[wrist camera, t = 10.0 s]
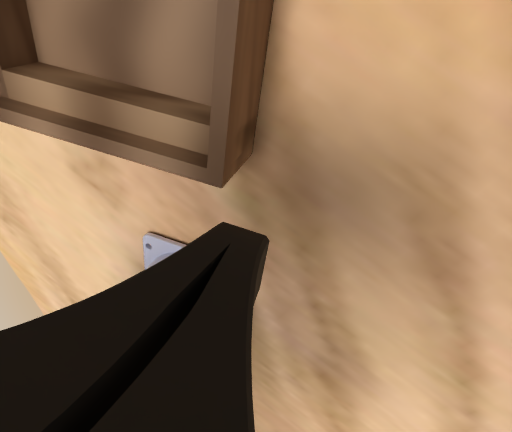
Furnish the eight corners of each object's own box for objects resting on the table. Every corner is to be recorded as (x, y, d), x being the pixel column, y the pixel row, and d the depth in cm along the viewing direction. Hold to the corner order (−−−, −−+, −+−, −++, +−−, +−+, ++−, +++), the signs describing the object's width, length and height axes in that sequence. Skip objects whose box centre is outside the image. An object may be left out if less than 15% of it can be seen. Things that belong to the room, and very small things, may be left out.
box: (294, -148, 13) (257, -193, 10) (251, 153, 20) (221, 188, 17) (-14, -180, 16) (-128, -225, 12) (43, 95, 22) (-19, 115, 19)
